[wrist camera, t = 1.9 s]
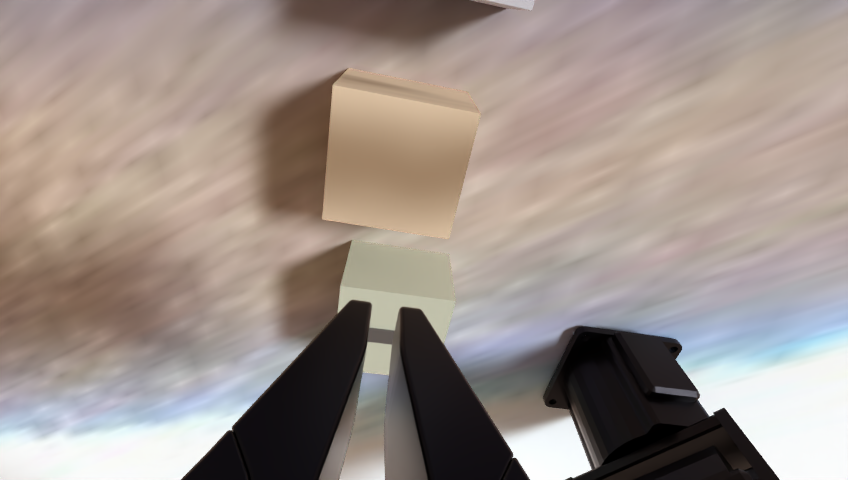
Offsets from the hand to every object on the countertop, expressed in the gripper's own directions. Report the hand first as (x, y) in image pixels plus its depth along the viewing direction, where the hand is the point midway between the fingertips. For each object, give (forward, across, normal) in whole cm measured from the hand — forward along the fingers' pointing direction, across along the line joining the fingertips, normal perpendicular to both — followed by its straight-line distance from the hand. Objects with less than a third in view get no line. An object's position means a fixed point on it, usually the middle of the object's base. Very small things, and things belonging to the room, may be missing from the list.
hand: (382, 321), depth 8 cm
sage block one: (+12, -1, +8) cm, 15 cm away
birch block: (+12, 0, 0) cm, 12 cm away
